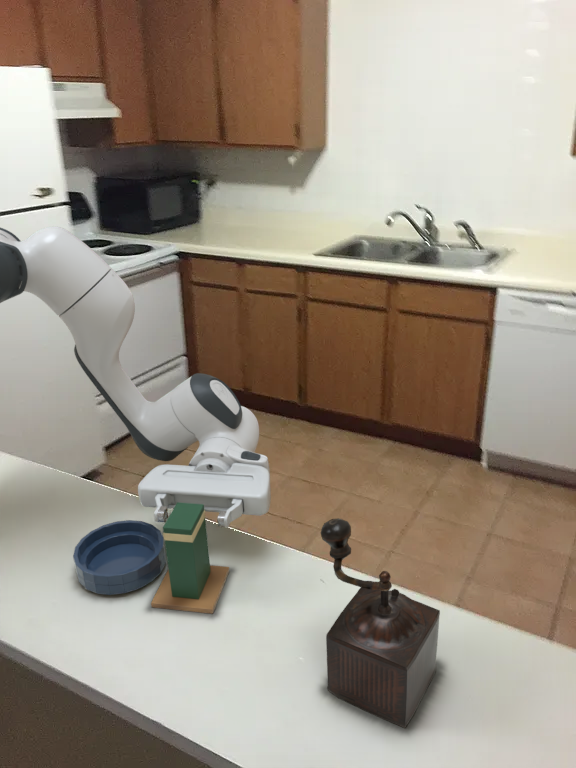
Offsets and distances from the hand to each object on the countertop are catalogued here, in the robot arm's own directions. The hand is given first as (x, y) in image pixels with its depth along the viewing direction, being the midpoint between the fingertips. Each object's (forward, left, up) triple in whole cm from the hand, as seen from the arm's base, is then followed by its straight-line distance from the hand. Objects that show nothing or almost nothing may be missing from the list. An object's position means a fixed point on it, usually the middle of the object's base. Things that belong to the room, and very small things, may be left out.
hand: (190, 520), depth 95 cm
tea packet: (0, -2, -9) cm, 10 cm away
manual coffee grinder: (+26, -13, -10) cm, 31 cm away
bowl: (-12, +1, -10) cm, 16 cm away
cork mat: (0, -2, -10) cm, 11 cm away
